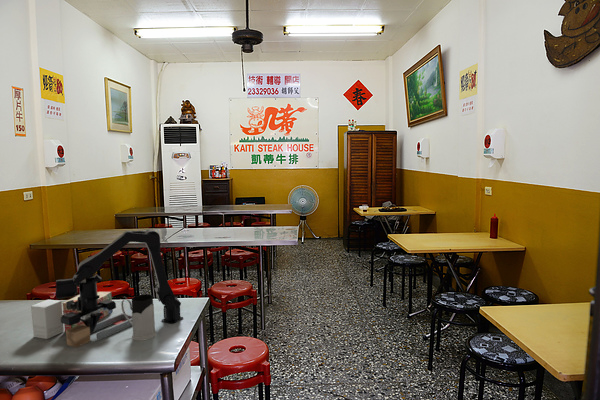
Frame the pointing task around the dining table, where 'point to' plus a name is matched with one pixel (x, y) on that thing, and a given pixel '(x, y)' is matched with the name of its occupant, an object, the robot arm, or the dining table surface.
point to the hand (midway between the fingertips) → (91, 333)
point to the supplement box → (47, 319)
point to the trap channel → (119, 325)
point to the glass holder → (142, 317)
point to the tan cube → (78, 335)
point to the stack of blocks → (105, 311)
